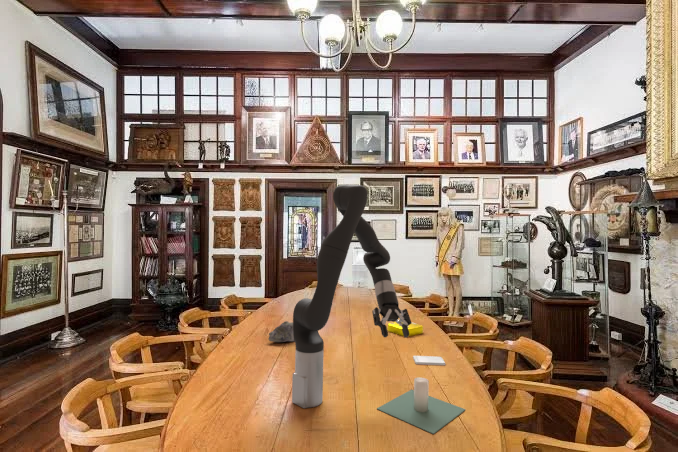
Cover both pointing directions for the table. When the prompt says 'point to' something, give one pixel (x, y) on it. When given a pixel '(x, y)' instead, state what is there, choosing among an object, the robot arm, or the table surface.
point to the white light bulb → (421, 394)
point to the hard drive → (428, 360)
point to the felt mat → (427, 421)
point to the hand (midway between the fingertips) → (396, 336)
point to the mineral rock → (282, 333)
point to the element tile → (412, 328)
